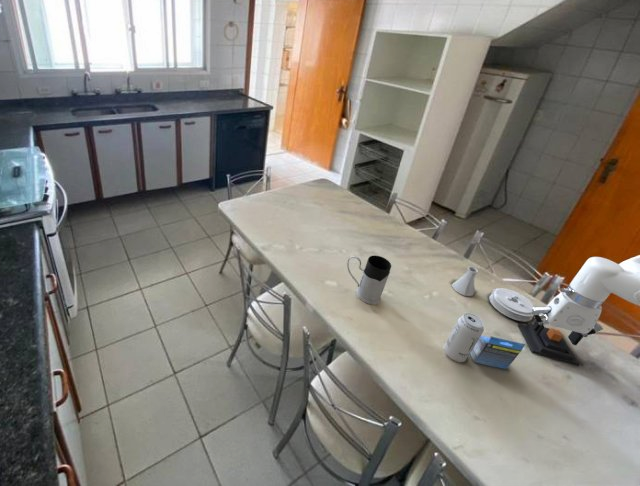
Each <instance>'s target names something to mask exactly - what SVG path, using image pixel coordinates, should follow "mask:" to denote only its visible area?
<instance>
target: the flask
mask: <svg viewBox="0 0 640 486" xmlns="http://www.w3.org/2000/svg"><path fill="white" fill-rule="evenodd" d="M477 273H479V270H478V269H477V268H476V267H474V266H468V267H467V269H466V272H465V273H464V274H463V275H462V276H461V277H459V278H458V279H457V280H456V281H454V282H453V283H452V284H451V287H452V288H453V290H454V291H455V292H456V293H458V294H460V295H462V296H464V297H472V296H473V295H474V294H475V278H476V275H477Z"/></svg>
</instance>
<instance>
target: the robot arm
mask: <svg viewBox="0 0 640 486" xmlns="http://www.w3.org/2000/svg"><path fill="white" fill-rule="evenodd" d="M611 294H613V295H616V296H617V297H619V298H621V299H622V300H625V301H627V302H628V303H631V304H633V305H636V306H638V307H640V254H638V255H636V256H634V257H630V258H629V259H626V260H624V261H622V262H620V263H617V262H615V261H612V260H611V259H608V258H605V257H601V256H592V257H589V258H588V259H586V261H585V262H584V264H583V265H582V266H581V268H580V269H579V271H578V272H577V274H576V275H575V276H574V277H573V278H572V280H571V282H570V283H569V284H568V285H567V287H561V292H559V293H558V294H557V295H555V297H554V298H553V299H552V300H551V301H550V302H549V303H548V304H547V305H546V306H538V307H535V306H534V308H532V312H533V317H534V319H535V320H534V322H533V323H532V324H533V325H532V329H533V331H534V333H535V334H536V335H539V334H540V333H541V331H542V330H543V328H544V327H545V326H546V325H551V326H553V327H557V328H560V329H564V330H567V331H571V332H570V333H569V335H567V339H568V340H569V341H570V343H571V344H572V345H573V346H577V345H578V344H579V343H580V342H581V340H583V338H587V337H589V336H591V335H594V334H596V333H598V332H600V331H603V330H604V327H603V326H602V325H601V324H600V323H599V322H598V320H599V319H600V316H601V314H602V310H603V307H602V305H603V303H604V302H605V301H606V300H607V299H608V297H609V296H610V295H611Z"/></svg>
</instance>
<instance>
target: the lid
mask: <svg viewBox="0 0 640 486" xmlns="http://www.w3.org/2000/svg"><path fill="white" fill-rule="evenodd" d="M488 299H489V302H490V304H491V305H492V307H493V308H495V310H497V311H498V312H499V313H501V314H502V315H504V316H506V317H508V318H510V319H512V320H515V321H518V322H524V323H528V322H531V321H532V320H533V317H534V316H533V312H532V308H534V307H535V305H534V304H533V302H531V301H530V299H529V298H527V297H526V296H524V295H523V294H521V293H519V292H517V291H515V290H513V289H509V288H503V287H501V288H500V287H499V288H498V287H497V288H494V289H493V290H492V292H491V294H490V295H489V297H488Z"/></svg>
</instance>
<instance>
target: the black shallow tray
mask: <svg viewBox="0 0 640 486" xmlns="http://www.w3.org/2000/svg"><path fill="white" fill-rule="evenodd" d="M532 325H533V323H530V322H527V324H525V323H520V322H519V323H518V324H517V327H518V329H519V331H520V333H521V335H522V337H523V339H524V340H525V342H526V343H525V344H527V346H528V348H529V351H530V353H531V354H535V355H538V356H542V357H544V358H548V359H552V360H555V361H559V362H562V363H565V364H569V365H572V366H576V367H579V366H580V365H581V363H580V361H579V360H578V359H577V357H576V356H575V355H576V354H574V352H573V351H572V348H570V346H569V344H568V343H567V341H566V340H565V338H564V336H563V337H562V341H563V342H564V344H565V346H566V347H567V349H568V350H567V351H566V353H564V352H561V351H557V350H554V349H550V348H547V347H544V345H543V343H542V341H541V340H540V338H539V336H538V335H536V334H535V333H534V331H533V329H532ZM544 328H546V329H550V328H548V327H546V326H544Z"/></svg>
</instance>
